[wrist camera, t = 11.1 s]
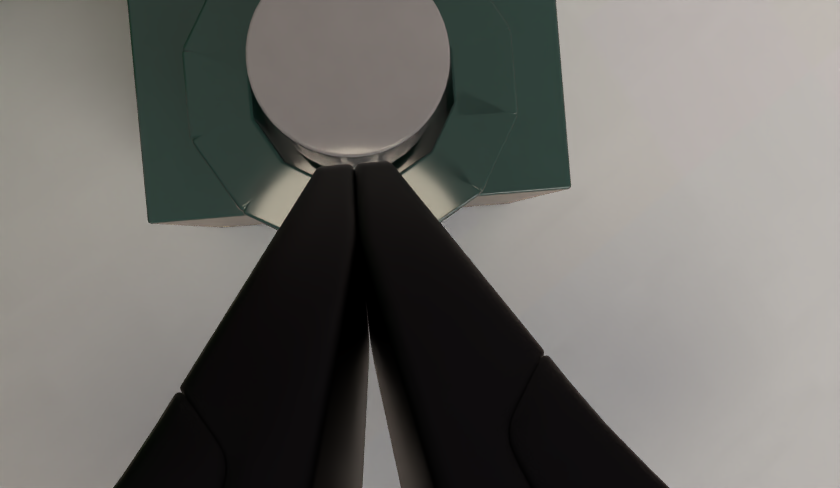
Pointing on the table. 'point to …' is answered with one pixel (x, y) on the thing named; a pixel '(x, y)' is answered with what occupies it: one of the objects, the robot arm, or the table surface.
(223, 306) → the table surface
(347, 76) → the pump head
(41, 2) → the table surface
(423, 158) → the green button box
